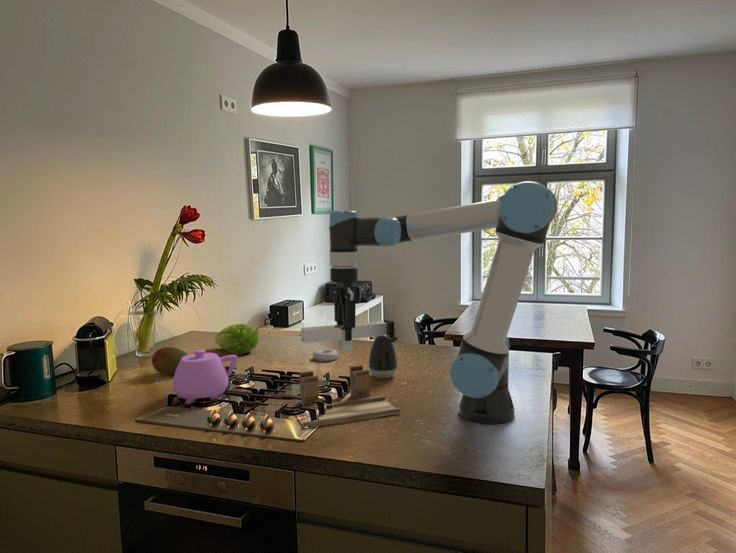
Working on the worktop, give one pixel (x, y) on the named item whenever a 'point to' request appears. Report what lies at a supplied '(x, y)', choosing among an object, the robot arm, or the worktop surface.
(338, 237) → the robot arm
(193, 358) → the teapot
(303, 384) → the cradle posts
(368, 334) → the rail
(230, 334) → the lettuce
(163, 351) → the fruit
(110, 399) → the worktop surface
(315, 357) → the donut
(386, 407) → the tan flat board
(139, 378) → the worktop surface
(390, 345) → the pump dispenser
